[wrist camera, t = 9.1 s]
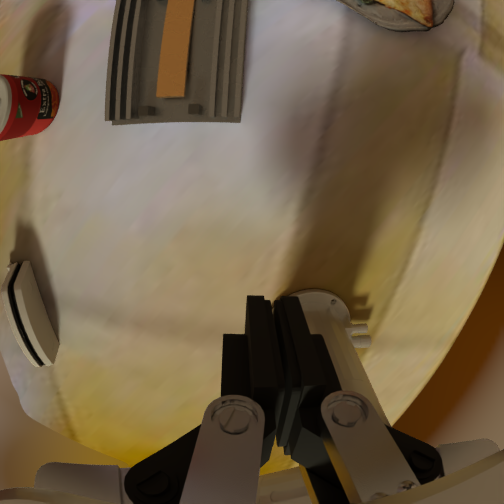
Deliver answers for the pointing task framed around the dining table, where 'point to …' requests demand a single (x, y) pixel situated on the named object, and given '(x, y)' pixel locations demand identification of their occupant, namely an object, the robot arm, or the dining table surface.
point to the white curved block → (28, 315)
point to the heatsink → (198, 71)
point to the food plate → (403, 13)
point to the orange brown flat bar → (175, 49)
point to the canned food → (26, 106)
